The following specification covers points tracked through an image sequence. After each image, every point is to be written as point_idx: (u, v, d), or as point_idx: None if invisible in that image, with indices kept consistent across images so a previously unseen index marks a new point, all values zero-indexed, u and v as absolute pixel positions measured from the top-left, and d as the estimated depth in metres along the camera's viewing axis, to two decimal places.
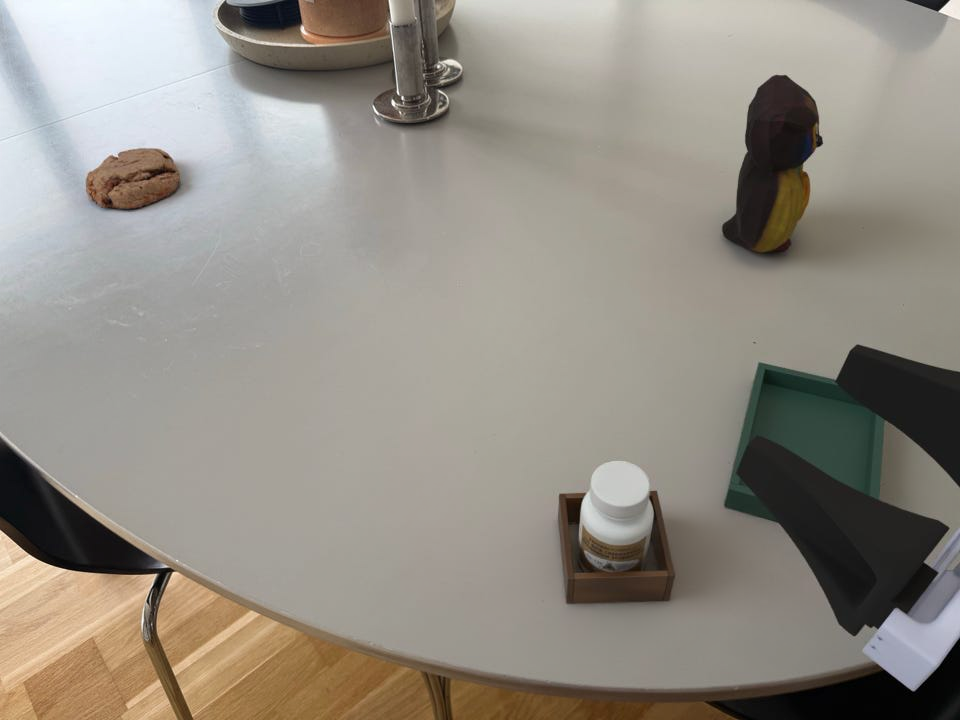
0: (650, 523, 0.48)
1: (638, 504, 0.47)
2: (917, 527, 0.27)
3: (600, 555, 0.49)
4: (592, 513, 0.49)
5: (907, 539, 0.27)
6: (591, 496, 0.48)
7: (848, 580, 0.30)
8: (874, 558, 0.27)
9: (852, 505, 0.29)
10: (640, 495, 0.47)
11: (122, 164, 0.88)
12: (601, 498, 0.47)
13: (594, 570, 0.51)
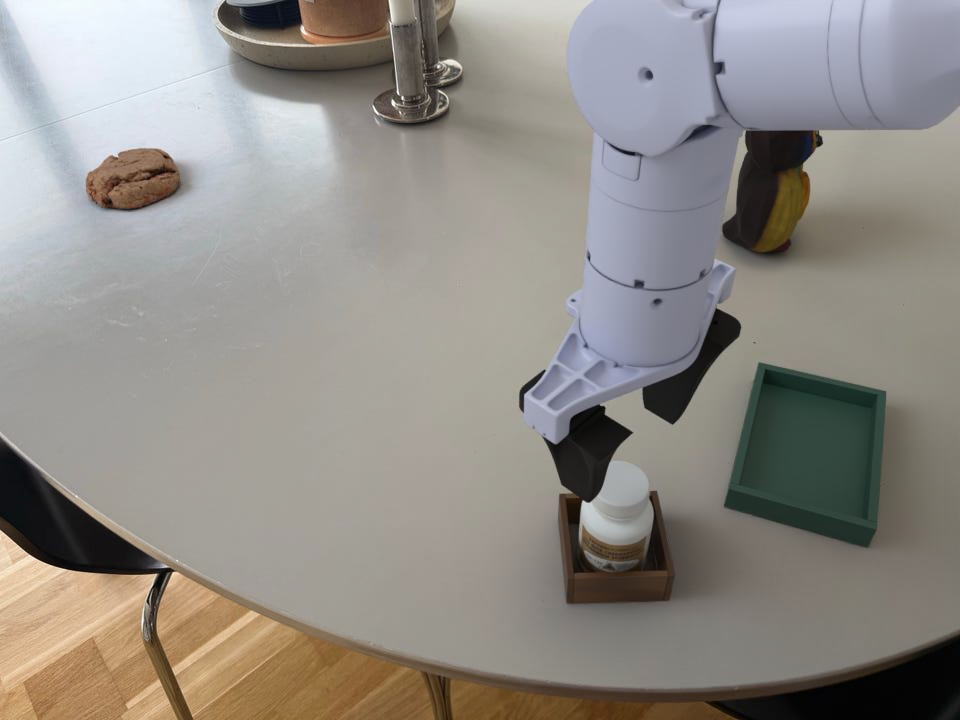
0: (650, 523, 0.48)
1: (638, 504, 0.47)
2: None
3: (600, 555, 0.49)
4: (592, 513, 0.49)
5: None
6: None
7: None
8: None
9: None
10: (640, 495, 0.47)
11: (122, 164, 0.88)
12: (601, 498, 0.47)
13: (594, 570, 0.51)
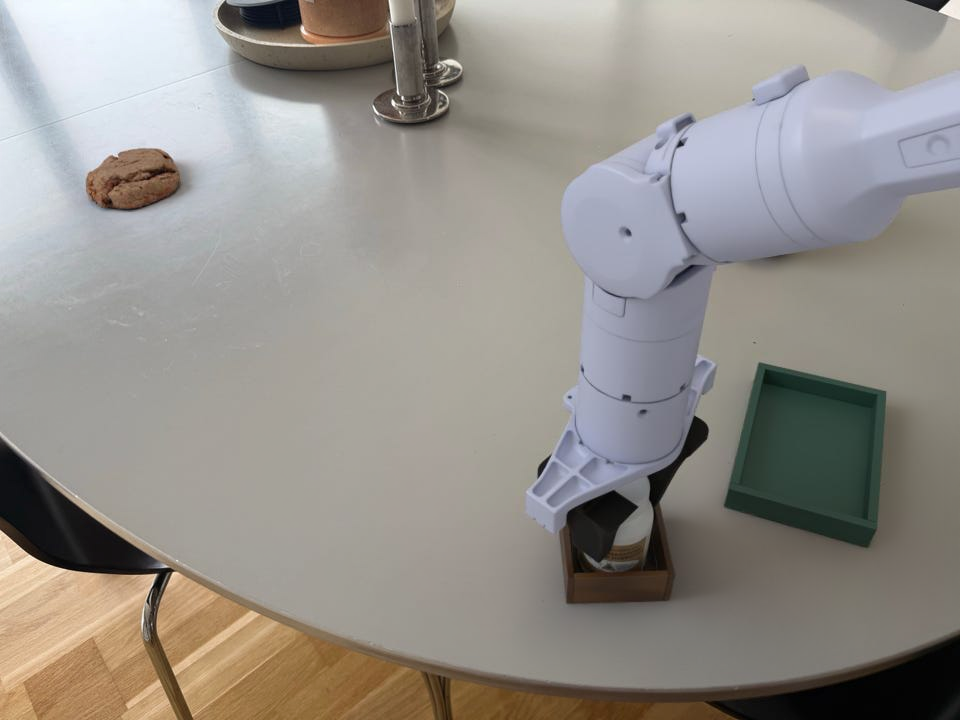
0: (650, 523, 0.48)
1: (638, 505, 0.47)
2: None
3: None
4: None
5: None
6: None
7: None
8: None
9: None
10: (640, 496, 0.47)
11: (122, 164, 0.88)
12: None
13: (594, 570, 0.51)
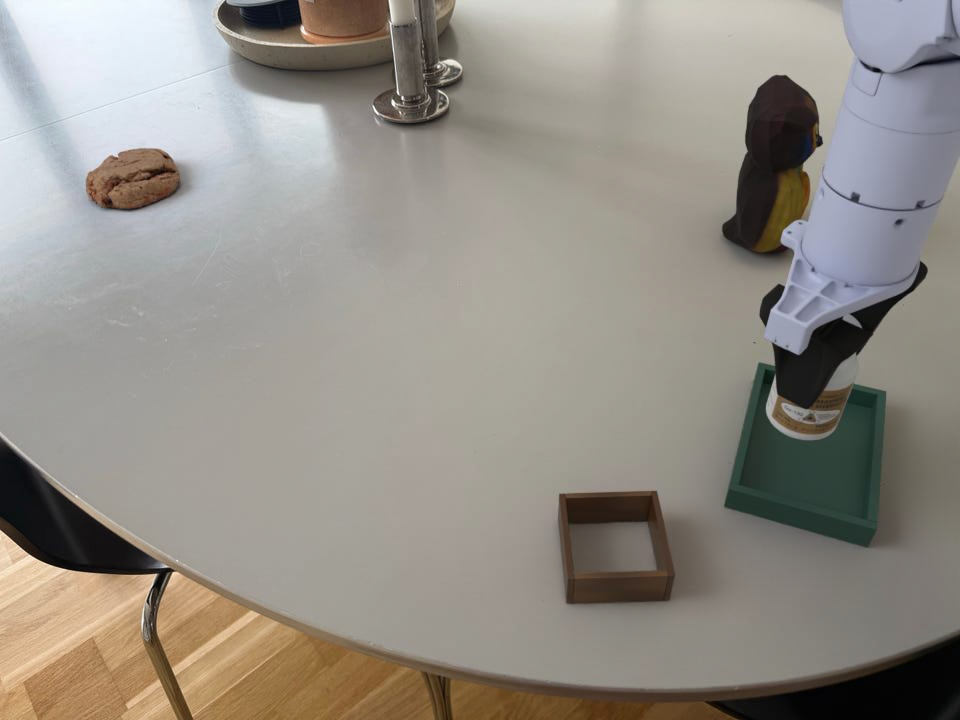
0: (857, 369, 0.48)
1: None
2: None
3: None
4: None
5: None
6: None
7: None
8: None
9: None
10: None
11: (122, 164, 0.88)
12: None
13: (791, 423, 0.50)
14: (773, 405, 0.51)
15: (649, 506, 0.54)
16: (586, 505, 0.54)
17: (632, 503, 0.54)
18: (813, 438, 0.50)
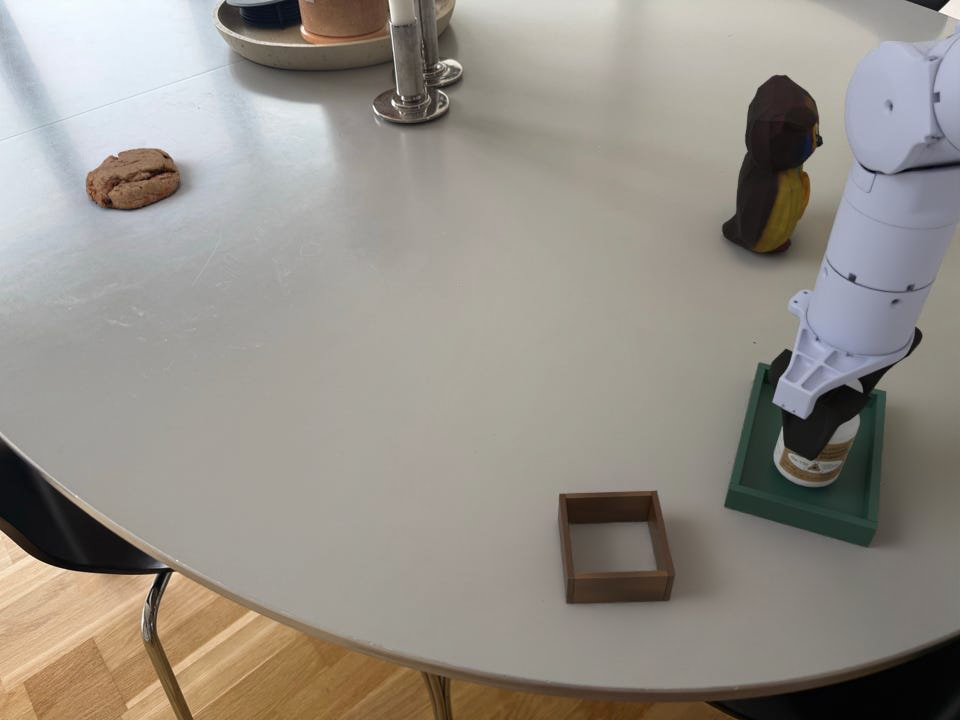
0: (858, 424, 0.52)
1: None
2: None
3: None
4: None
5: None
6: None
7: None
8: None
9: None
10: None
11: (122, 164, 0.88)
12: None
13: (797, 471, 0.54)
14: (780, 454, 0.55)
15: (649, 506, 0.54)
16: (586, 505, 0.54)
17: (632, 503, 0.54)
18: (817, 485, 0.54)
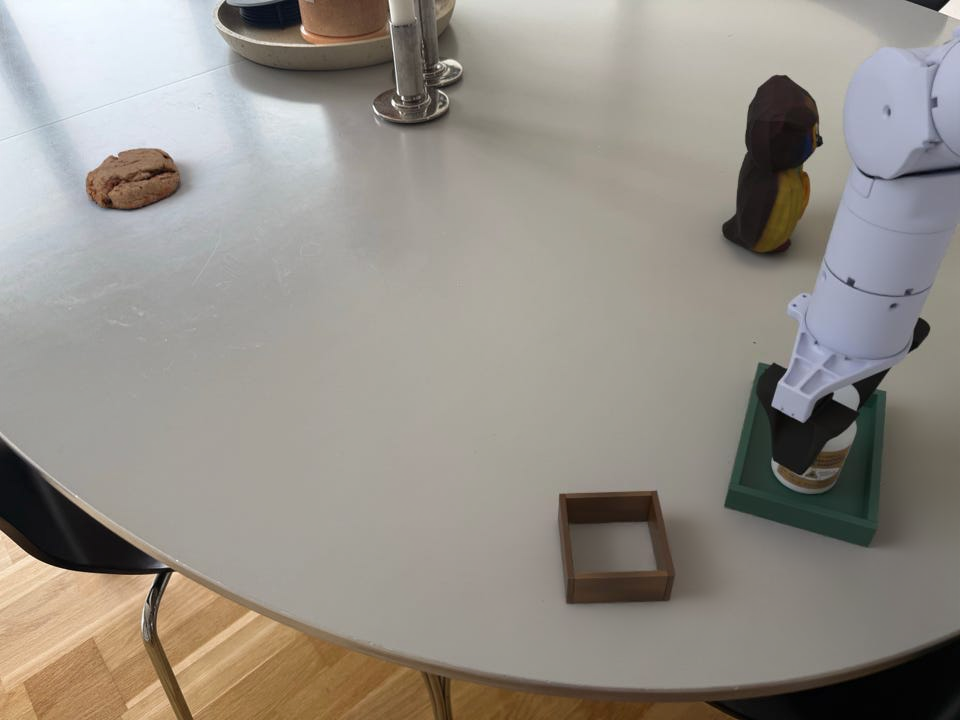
0: (855, 432, 0.52)
1: None
2: None
3: None
4: None
5: None
6: None
7: None
8: (767, 402, 0.48)
9: None
10: (852, 403, 0.51)
11: (122, 164, 0.88)
12: None
13: (795, 479, 0.55)
14: None
15: (649, 506, 0.54)
16: (586, 505, 0.54)
17: (632, 503, 0.54)
18: (815, 492, 0.55)
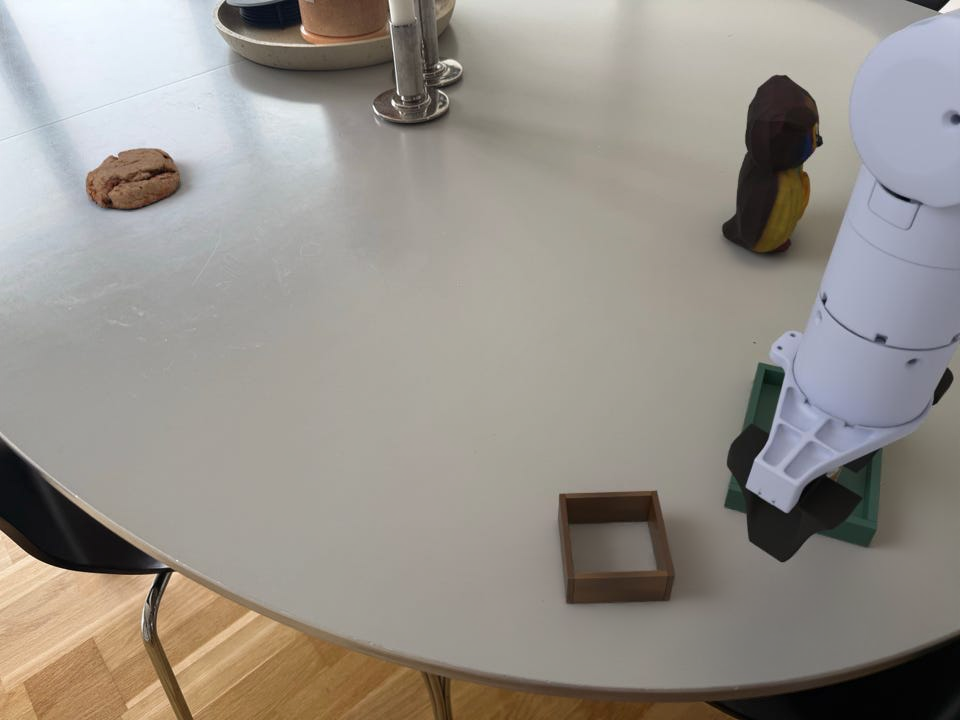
0: None
1: None
2: None
3: None
4: None
5: None
6: None
7: None
8: (740, 477, 0.37)
9: None
10: None
11: (122, 164, 0.88)
12: None
13: None
14: None
15: (649, 506, 0.54)
16: (586, 505, 0.54)
17: (632, 503, 0.54)
18: None
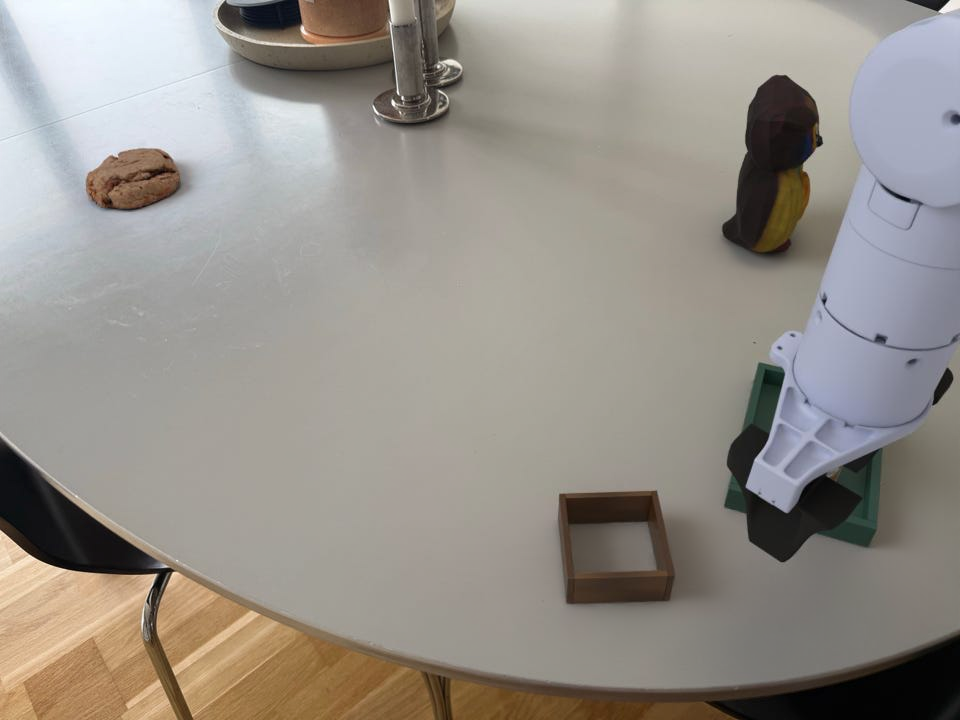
0: None
1: None
2: None
3: None
4: None
5: None
6: None
7: None
8: (740, 477, 0.37)
9: None
10: None
11: (122, 164, 0.88)
12: None
13: None
14: None
15: (649, 506, 0.54)
16: (586, 505, 0.54)
17: (632, 503, 0.54)
18: None
